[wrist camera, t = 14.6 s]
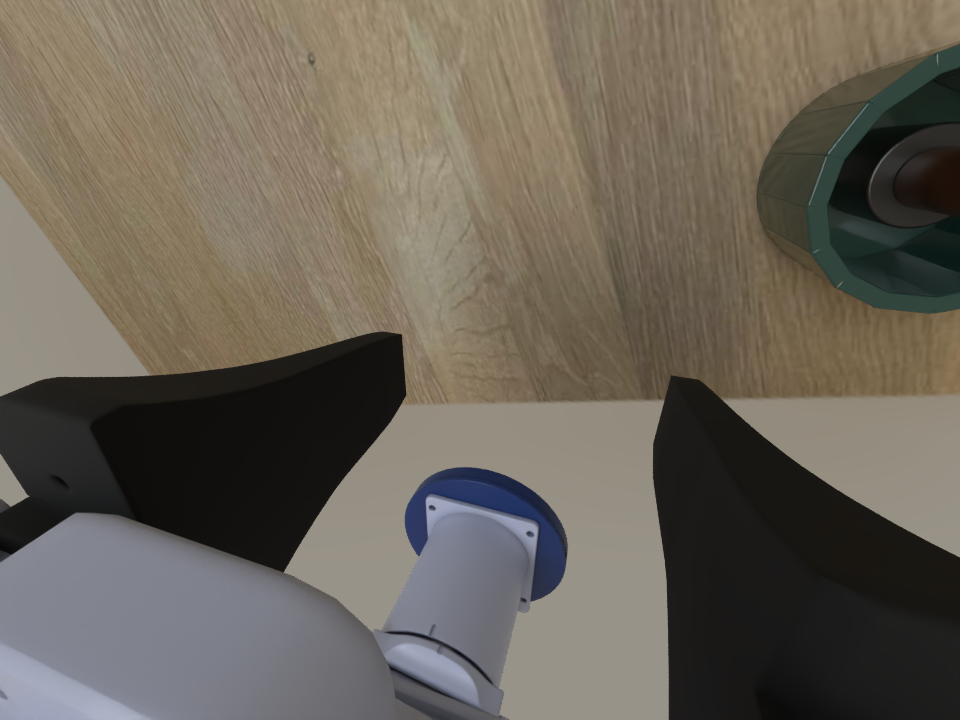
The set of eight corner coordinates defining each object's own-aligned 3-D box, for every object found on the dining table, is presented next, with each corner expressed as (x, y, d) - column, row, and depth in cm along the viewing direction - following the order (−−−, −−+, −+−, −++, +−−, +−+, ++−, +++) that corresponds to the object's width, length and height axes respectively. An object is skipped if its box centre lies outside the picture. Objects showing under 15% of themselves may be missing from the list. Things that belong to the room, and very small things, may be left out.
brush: (902, 216, 15) (1087, 263, 9) (810, 212, 15) (925, 252, 10) (944, 126, 13) (1194, 109, 8) (842, 126, 14) (996, 109, 8)
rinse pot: (928, 274, 16) (1056, 327, 11) (734, 258, 17) (773, 298, 13) (1040, 61, 13) (1281, 10, 8) (791, 67, 14) (870, 29, 10)
